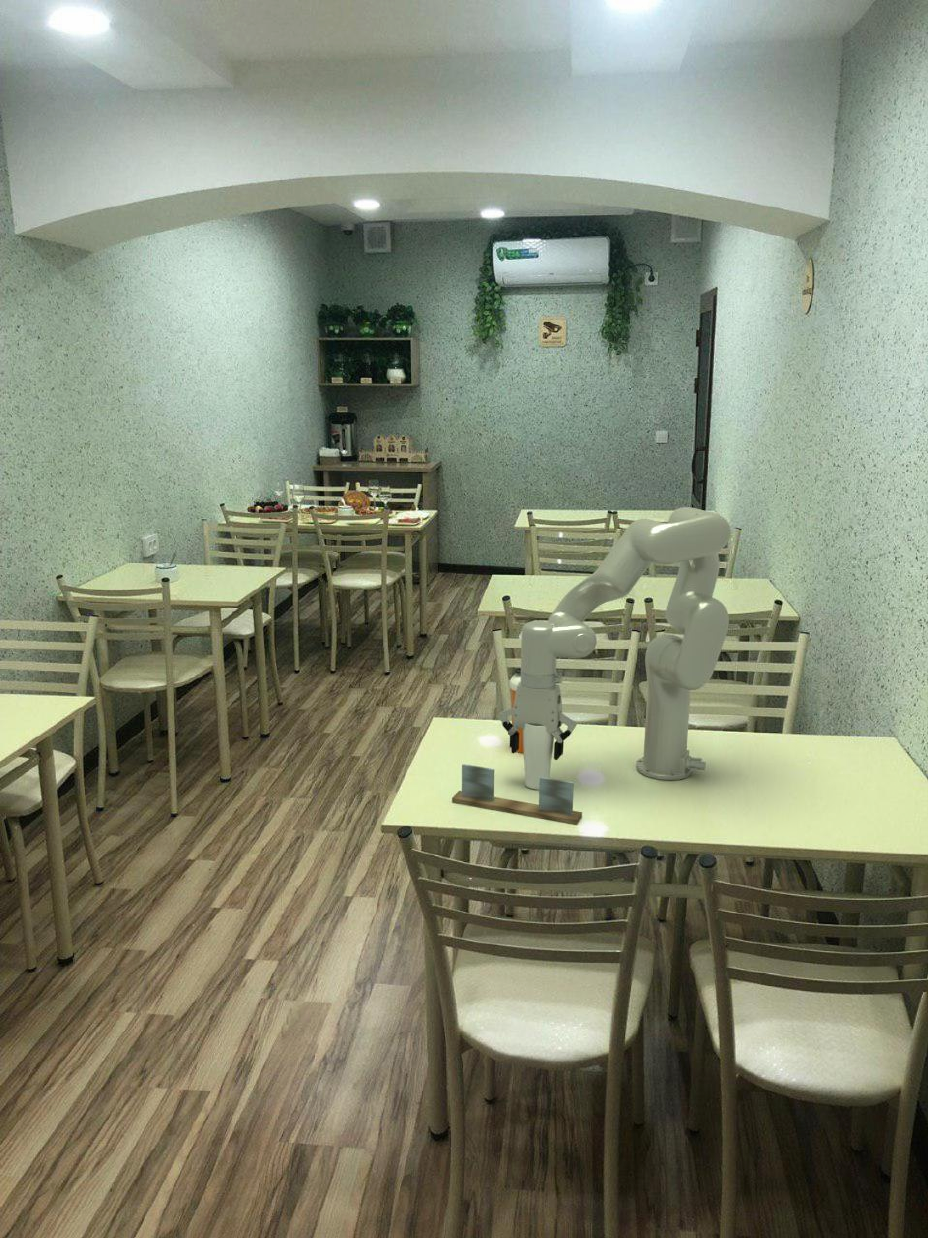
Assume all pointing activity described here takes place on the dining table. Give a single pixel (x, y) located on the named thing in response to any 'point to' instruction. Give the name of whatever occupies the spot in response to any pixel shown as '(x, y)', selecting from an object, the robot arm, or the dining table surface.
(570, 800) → the stand
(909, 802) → the dining table surface
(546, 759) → the drinking glass
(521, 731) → the shaker bottle
